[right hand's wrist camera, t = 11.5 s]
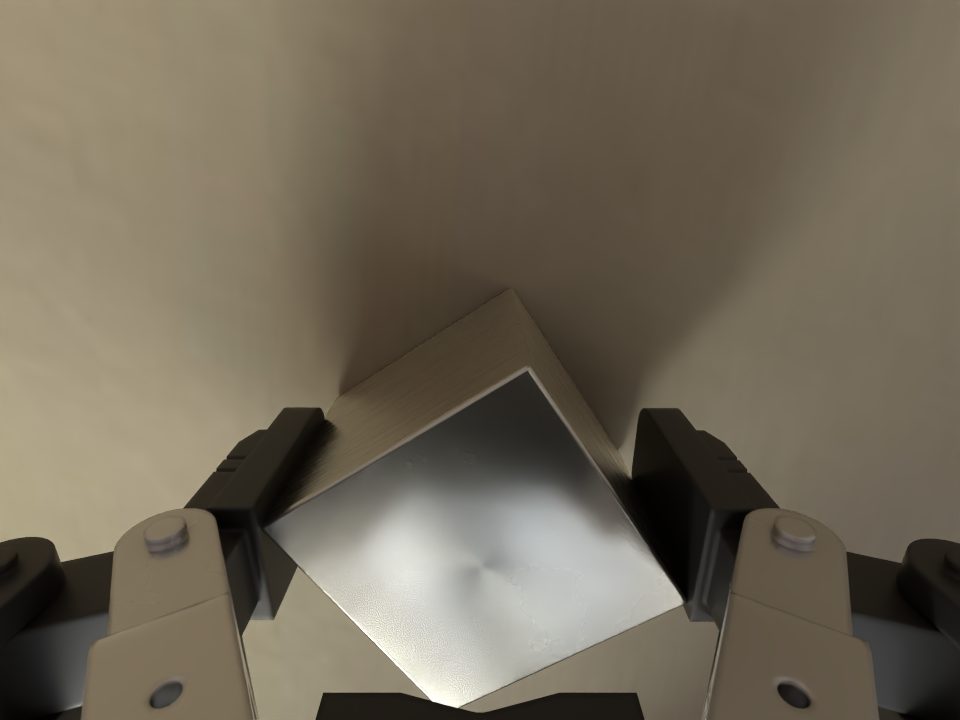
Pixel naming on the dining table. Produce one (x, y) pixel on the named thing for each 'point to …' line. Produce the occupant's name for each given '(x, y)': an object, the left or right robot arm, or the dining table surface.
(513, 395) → the metal cube
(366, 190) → the dining table surface
